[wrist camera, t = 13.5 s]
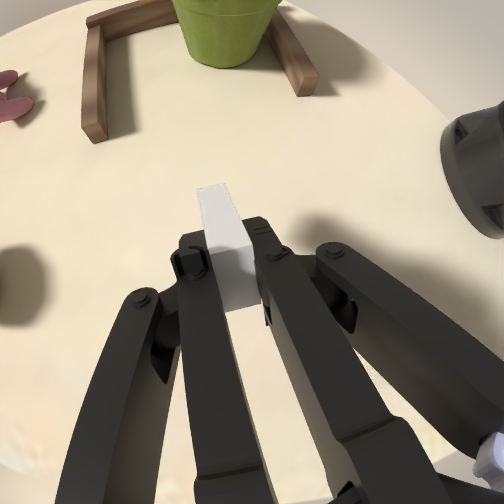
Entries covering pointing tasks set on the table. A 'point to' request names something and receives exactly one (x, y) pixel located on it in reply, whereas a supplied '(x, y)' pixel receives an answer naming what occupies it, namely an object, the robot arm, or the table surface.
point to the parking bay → (157, 14)
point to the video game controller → (15, 107)
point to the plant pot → (223, 28)
